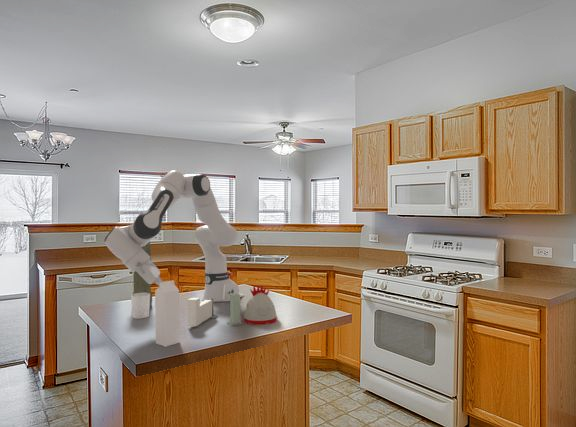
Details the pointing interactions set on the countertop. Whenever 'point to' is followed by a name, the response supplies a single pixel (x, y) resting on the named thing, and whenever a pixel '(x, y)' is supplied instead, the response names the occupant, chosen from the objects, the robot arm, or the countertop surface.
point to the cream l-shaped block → (198, 311)
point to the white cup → (140, 305)
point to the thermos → (139, 282)
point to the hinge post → (212, 310)
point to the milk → (167, 314)
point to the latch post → (235, 310)
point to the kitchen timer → (260, 308)
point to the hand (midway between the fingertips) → (164, 286)
